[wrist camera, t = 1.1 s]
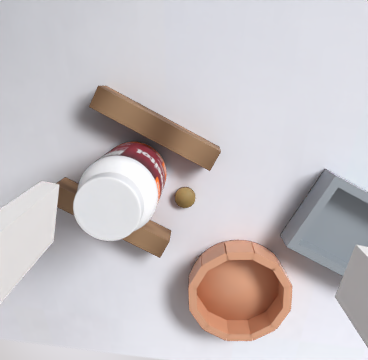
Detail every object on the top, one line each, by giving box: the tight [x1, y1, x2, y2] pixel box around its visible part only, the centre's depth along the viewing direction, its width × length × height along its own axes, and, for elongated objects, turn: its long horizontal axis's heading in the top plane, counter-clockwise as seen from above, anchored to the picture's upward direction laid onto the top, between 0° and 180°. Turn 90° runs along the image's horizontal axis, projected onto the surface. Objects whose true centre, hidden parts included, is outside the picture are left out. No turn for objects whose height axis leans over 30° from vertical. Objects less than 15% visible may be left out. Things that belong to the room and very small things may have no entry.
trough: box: [280, 169, 368, 276], centre depth 33 cm, size 10×8×3 cm
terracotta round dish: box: [188, 240, 292, 341], centre depth 35 cm, size 10×10×3 cm
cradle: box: [56, 86, 221, 258], centre depth 32 cm, size 12×12×2 cm
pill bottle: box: [73, 142, 166, 241], centre depth 28 cm, size 6×6×11 cm
